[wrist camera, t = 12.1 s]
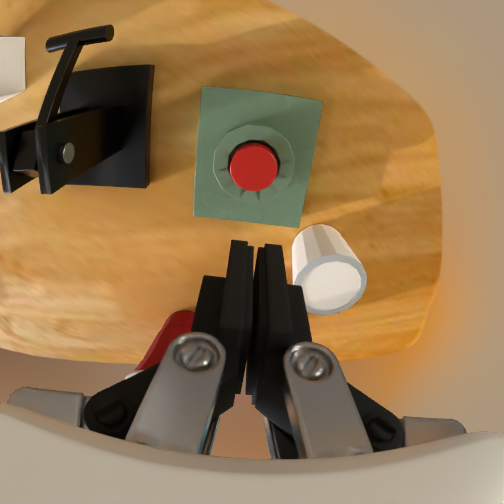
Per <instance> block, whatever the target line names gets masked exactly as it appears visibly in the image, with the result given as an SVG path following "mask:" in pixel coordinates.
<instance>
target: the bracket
mask: <svg viewBox="0 0 504 504" xmlns="http://www.w3.org/2000/svg"><path fill="white" fill-rule="evenodd" d="M154 68H155V66H154V65H131V66H119V67H108V68H99V69H91V70H84V71H77V72H72V73H71V76H70V78H69V81H68V84H67V86H66V89H65V92H64V95H63V98H62V101H61V104H60V113H57V116H56V119H55V121H52V122H49V123H46V124H42V125H39V126H36V123H37V119H36V120H32V121H29V122H26V123H23V124H20V125H17V126H14V127H11V128H8V129H6V130H3V131H0V173H1V180H2V186H3V192H4V193H12V192H14V191H15V190H17V189H18V188H20V187H21V186H23V185H25V184H26V183H28V182H30V181H31V180H33V179H34V178H36V177H29V176H26V175H24V174H21V173H18V172H15V171H13V168H14V163H15V159H16V154H17V150H18V146H19V143H20V139H21V135H22V132H24V131H31V130H34V129H35V140H36V154H37V165H38V175H39V183H40V190H41V194H53V193H54V192H56V191H57V190H59V189H60V188H62V187H63V186H64V185H93V186H114V187H131V188H146V187H147V186H148V185H149V153H150V123H151V105H152V90H153V78H154ZM35 126H36V127H35Z"/></svg>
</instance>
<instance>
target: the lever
mask: <svg viewBox="0 0 504 504" xmlns="http://www.w3.org/2000/svg"><path fill="white" fill-rule="evenodd" d="M113 36H114V27H113V26H112V25H105V26H99V27H93V28H88V29H83V30H79V31H74V32H70V33H66V34H62V35H58V36H54V37H51V38H49V39H48V40H47V42H46V50H47V51H48V52H49V53H51V52H55V51H60V50H64V49H65V50H64V52H63V54H62V56H61V58H60V61H59V63H58V65H57V67H56V70H55V72H54V75H53V77H52V80H51V82H50V85H49V87H48V90H47V93H46V95H45V98H44V101H43V104H42V107H41V110H40V113H39V116H38V119H37V123H36V126H39V125H42V124H46V123H49V122H52V121H55V119H56V116H57V113H58V110H59V107H60V104H61V101H62V98H63V95H64V92H65V89H66V86H67V84H68V81H69V78H70V76H71V73H72V71H73V68H74V66H75V64H76V61H77V59H78V57H79V54H80V52H81V50H82V48H83V46H84V45H89V44H95V43H101V42H108V41H111V40H112V39H113ZM36 126H35V127H36ZM13 171H15V172H18V173H21V174H24V175H26V176H29V177H39V175H38V165H37V154H36V140H35V129H34V130H31V131H24V132H22V135H21V139H20V143H19V146H18V150H17V154H16V159H15V163H14V168H13Z"/></svg>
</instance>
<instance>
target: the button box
mask: <svg viewBox="0 0 504 504" xmlns="http://www.w3.org/2000/svg"><path fill="white" fill-rule="evenodd" d="M322 105H323V102H322V101H318V100H313V99H307V98H302V97H296V96H290V95H284V94H277V93H270V92H263V91H254V90H245V89H235V88H223V87H208V86H203V87H202V94H201V104H200V114H199V126H198V138H197V152H196V167H195V184H194V205H193V216H196V217H206V218H215V219H224V220H233V221H242V222H251V223H260V224H268V225H276V226H285V227H293V228H299V224H300V220H301V215H302V210H303V205H304V201H305V196H306V191H307V186H308V181H309V176H310V171H311V165H312V160H313V155H314V150H315V144H316V139H317V133H318V128H319V122H320V116H321V111H322ZM248 143H260V144H263V145H265V146H267V147H268V148H269V149H270V150H271V151H272V152H273V154H274V156H275V158H276V162H277V168H278V170H277V176H276V178H275V180H274V181H273V183H272V184H271V185H270V186H269V187H267V188H265V189H263V190H260V191H248V190H245V189H242V188H241V187H239V186H238V185H237V184H236V183H235V182H234V180H233V179H232V176H231V173H230V165H231V161H232V158H233V155H234V153H235V152H236V151H237V149H239V148H240V147H241V146H243V145H245V144H248Z"/></svg>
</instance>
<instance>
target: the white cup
mask: <svg viewBox="0 0 504 504" xmlns="http://www.w3.org/2000/svg"><path fill="white" fill-rule="evenodd" d="M292 268H293V285H301V286H302V289H303V294H304V300H305V305H306V310H307V311H308V312H310V313H312V314H319V315H330V314H336V313H339V312H341V311H344V310H346V309H348V308H350V307H351V306H352V305H353V304H354V303H356V302H357V301H358V300H359V299H360V298H361V296H362V294H363V292H364V290H365V288H366V283H367V274H366V272H365V270H364V268H363V266H362V264H361V262H360V261H359V260H358V258H357V257H356V255H355V254H354V253H353V251H352V250H351V248H350V247H349V246H348V244H347V243H346V241H345V240H344V239H343V237H342V236H341V235H340V233H339V232H338V231H337V230H335V229H334V228H333V227H331V226H328V225H323V224H318V225H311V226H309V227H307V228H305V229H303V230H302V231H301V232H300V233H299V234H298V235H297V236H296V237H295V239H294V242H293V246H292Z"/></svg>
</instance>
